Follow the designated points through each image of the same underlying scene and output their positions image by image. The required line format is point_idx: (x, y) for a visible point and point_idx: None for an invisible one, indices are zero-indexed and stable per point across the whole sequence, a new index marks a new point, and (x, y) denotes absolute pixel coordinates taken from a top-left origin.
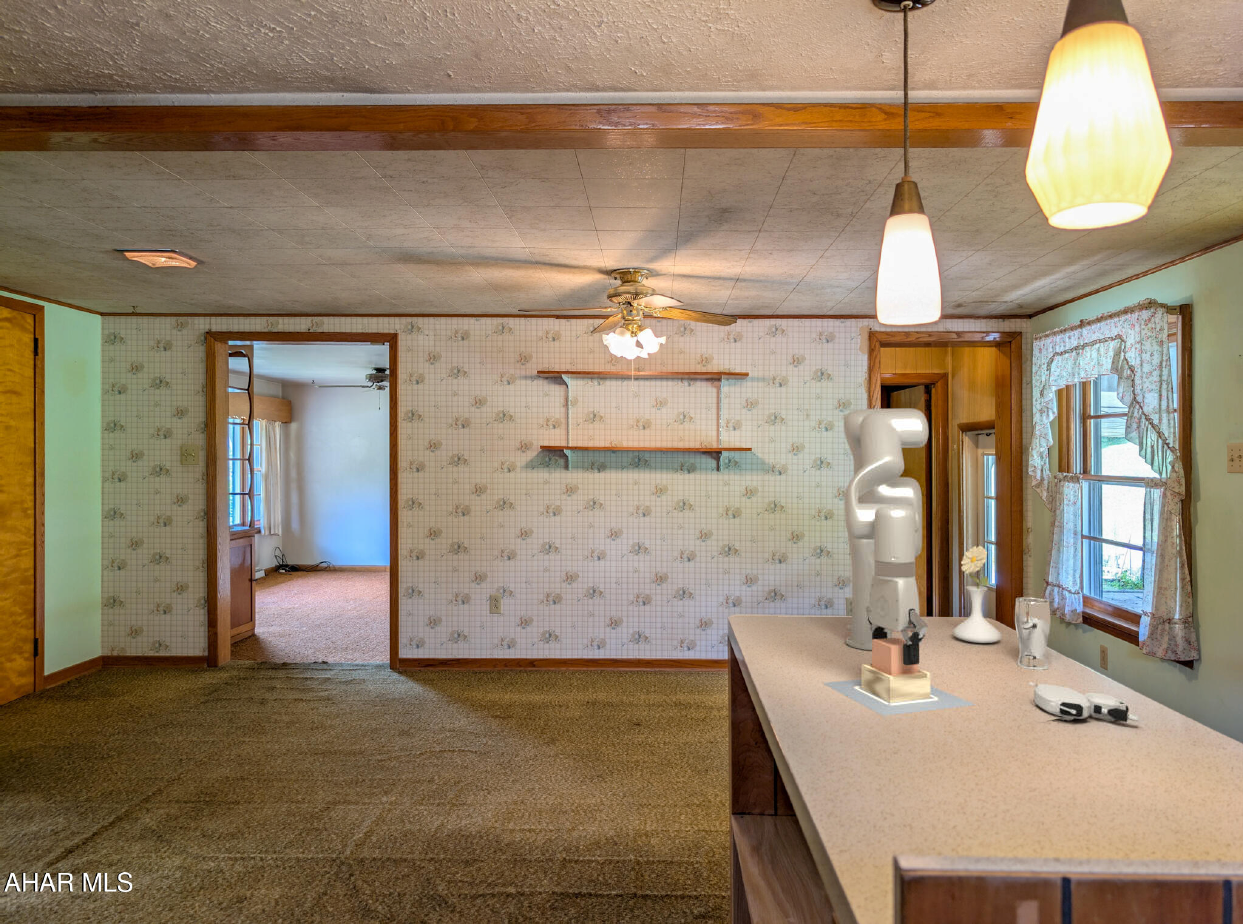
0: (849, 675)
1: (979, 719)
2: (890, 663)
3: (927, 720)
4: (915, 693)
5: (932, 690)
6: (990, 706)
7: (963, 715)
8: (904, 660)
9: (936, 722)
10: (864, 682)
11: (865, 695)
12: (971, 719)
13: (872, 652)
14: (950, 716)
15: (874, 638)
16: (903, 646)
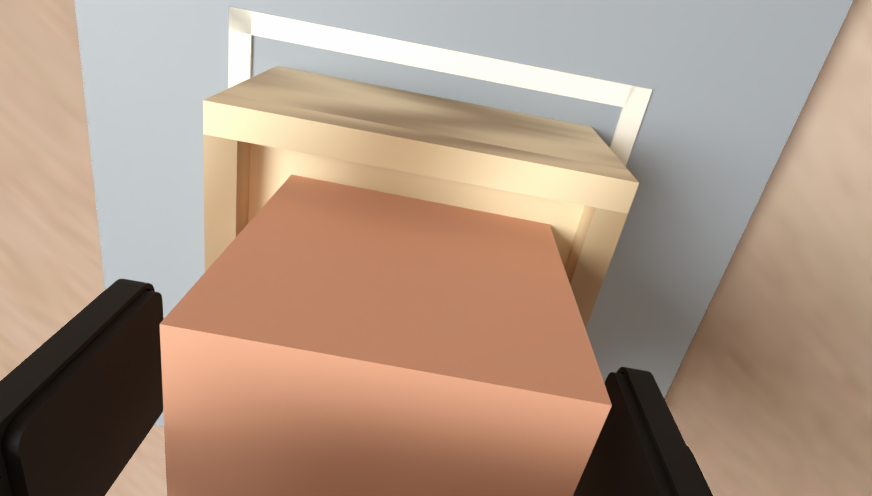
0: (862, 319)
1: (17, 322)
2: (264, 226)
3: (44, 90)
4: None
5: None
6: (158, 475)
7: (80, 307)
8: (104, 295)
9: (6, 109)
10: (565, 133)
11: (467, 30)
12: (22, 294)
13: (571, 301)
14: (79, 246)
15: (660, 482)
16: (13, 401)
